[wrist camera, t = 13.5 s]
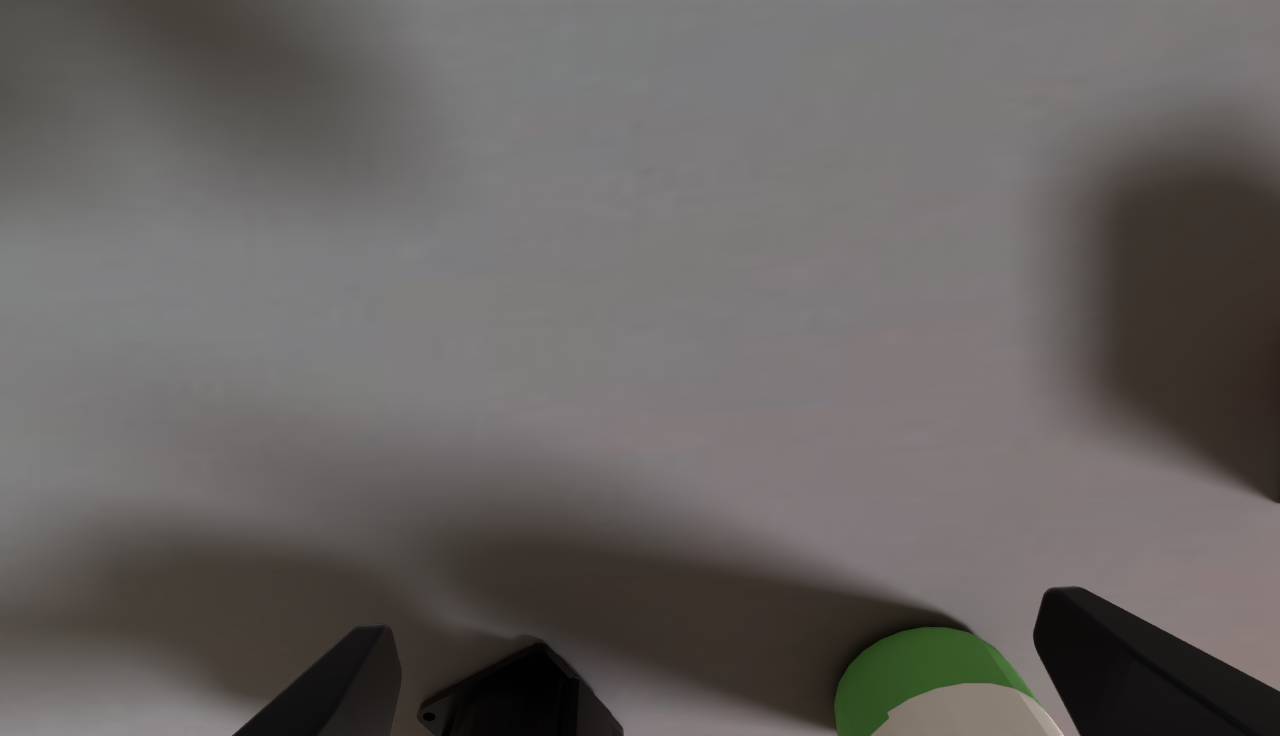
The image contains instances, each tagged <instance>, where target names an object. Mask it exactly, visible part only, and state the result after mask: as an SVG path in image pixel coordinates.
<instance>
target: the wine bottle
mask: <svg viewBox="0 0 1280 736" xmlns="http://www.w3.org/2000/svg"><path fill="white" fill-rule="evenodd" d="M834 711H835V719H836V726H837V732H838V736H1064V735H1063V734H1062V732H1061V731H1060V729H1059V728H1058V727H1057V725H1056V724H1055V722H1054V721H1053V720H1052V718H1051V717H1050V716H1049V715H1048V714H1047V713H1046V711H1045V710H1044V709H1043V707H1042V706H1041V705H1040V703H1039V702H1038V700H1037V699H1036V698H1035V696H1034V695H1033V693H1032V692H1031V691H1030V689H1029V688H1028V686H1027V685H1026V684H1025V682H1024V681H1023V680H1022V678H1021V677H1020V675H1019V674H1018V673H1017V671H1016V670H1015V669H1014V668H1013V667H1012V665H1011V664H1010V663H1009V662H1008V661H1007V660H1006V659H1005V658H1004V657H1003V656H1002V655H1001V653H1000V652H999V651H998V650H997V649H996V648H994V647H993V646H992V645H990V644H989V643H987V642H985V641H984V640H982V639H980V638H978V637H976V636H974V635H973V634H971V633H968V632H964V631H960V630H956V629H952V628H948V627H921V628H916V629H910V630H905V631H901V632H898V633H896V634H893V635H891V636H888V637H886V638H883V639H881V640H879V641H878V642H876V643H875V644H873V645H872V646H870V647H869V648H867V649H866V650H864V651H863V652H862V653H861V654H860V655H859V656H858V657H857V658H856V659H855V660H854V661H853V662H852V663H851V664H850V665H849V666H848V668H847V670H846V671H845V673H844V675H843V677H842V678H841V680H840V682H839V684H838V688H837V693H836V697H835V702H834Z"/></svg>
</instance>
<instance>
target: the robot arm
mask: <svg viewBox="0 0 1280 736" xmlns="http://www.w3.org/2000/svg"><path fill="white" fill-rule="evenodd" d="M1033 639H1034V645H1035V648H1036V650H1037V653H1038V655H1039V657H1040V659H1041V661H1042V663H1043V665H1044V666H1045V668H1046V670H1047V672H1048V674H1049V676H1050V678H1051V680H1052V682H1053V684H1054V686H1055V688H1056V690H1057V692H1058V694H1059V696H1060V698H1061V700H1062V701H1063V703H1064V705H1065V707H1066V709H1067V711H1068V713H1069V715H1070V717H1071V719H1072V721H1073V723H1074V725H1075V727H1076V729H1077V731H1078V733H1079V734H1080V736H1280V691H1278V690H1276V689H1274V688H1272V687H1270V686H1268V685H1267V684H1265V683H1263V682H1261V681H1259V680H1257V679H1255V678H1253V677H1251V676H1249V675H1247V674H1246V673H1244V672H1242V671H1240V670H1238V669H1236V668H1234V667H1232V666H1230V665H1228V664H1227V663H1225V662H1223V661H1221V660H1219V659H1217V658H1215V657H1213V656H1211V655H1209V654H1208V653H1206V652H1204V651H1202V650H1200V649H1198V648H1196V647H1194V646H1192V645H1190V644H1188V643H1187V642H1185V641H1183V640H1181V639H1179V638H1177V637H1175V636H1173V635H1171V634H1169V633H1168V632H1166V631H1164V630H1162V629H1160V628H1158V627H1156V626H1154V625H1152V624H1150V623H1149V622H1147V621H1145V620H1143V619H1141V618H1139V617H1137V616H1135V615H1133V614H1131V613H1129V612H1128V611H1126V610H1124V609H1122V608H1120V607H1118V606H1116V605H1114V604H1112V603H1110V602H1109V601H1107V600H1105V599H1103V598H1101V597H1099V596H1097V595H1095V594H1093V593H1091V592H1090V591H1088V590H1086V589H1084V588H1081V587H1075V586H1071V587H1053V588H1049V589H1048V590H1047V591H1046V592H1045V593H1044V595H1043V598H1042V601H1041V605H1040V609H1039V612H1038V616H1037V620H1036V623H1035V627H1034V631H1033ZM535 656H541V657H540V658H539V657H535ZM400 686H401V666H400V661H399V657H398V653H397V649H396V645H395V640H394V636H393V632H392V630H391V628H390V626H389V625H387V624H367V625H359V626H357V627H355V628H354V629H352V630H351V631H350V632H349V633H348V634H347V635H345V636H344V637H343V638H342V639H341V640H340V641H339V642H337V643H336V644H335V645H334V646H333V647H332V648H331V649H330V650H328V651H327V652H326V653H325V654H324V655H323V656H322V657H321V658H319V659H318V660H317V661H316V662H315V663H314V664H313V665H312V666H310V667H309V668H308V669H307V670H306V671H305V672H304V673H302V674H301V675H300V676H299V677H298V678H297V679H296V680H295V681H293V682H292V683H291V684H290V685H289V686H288V687H287V688H286V689H284V690H283V691H282V692H281V693H280V694H279V695H278V696H276V697H275V698H274V699H273V700H272V701H271V702H270V703H269V704H267V705H266V706H265V707H264V708H263V709H262V710H261V711H260V712H258V713H257V714H256V715H255V716H254V717H253V718H252V719H251V720H249V721H248V722H247V723H246V724H245V725H244V726H243V727H241V728H240V729H239V730H238V731H237V732H236V733H235V734H234V735H232V736H389V735H390V731H391V726H392V722H393V718H394V713H395V709H396V704H397V700H398V695H399V691H400ZM417 719H418V720H419V721H420V722H421V723H422V724H423V725H424V726H425V727H426V728H427V729H428V730H430V731H431V732H432V733H433V734H434V735H435V736H624V732H623V728H622V726H621V725H620V724H619V723H618V722H617V721H616V720H615V718H614V717H613V716H612V714H611V712H610V711H609V710H608V709H607V708H606V707H605V706H604V704H603V703H602V702H601V701H600V700H599V699H598V698H597V697H596V696H595V695H594V694H593V692H592V691H591V690H590V689H589V688H588V687H587V686H586V685H585V684H584V683H583V682H582V681H581V680H580V679H579V678H577V677H576V676H575V675H574V674H573V673H572V672H571V671H570V670H569V669H568V668H567V666H566V665H565V664H564V663H563V662H562V661H561V660H560V659H559V658H558V657H557V656H556V654H555V653H554V652H553V651H552V650H551V649H550V648H549V647H548V646H546V645H544V644H534V645H531V646H529V647H527V648H525V649H523V650H521V651H520V652H518V653H516V654H514V655H512V656H510V657H508V658H506V659H504V660H502V661H500V662H498V663H497V664H495V665H493V666H491V667H489V668H487V669H485V670H483V671H481V672H479V673H477V674H475V675H474V676H472V677H470V678H468V679H466V680H464V681H462V682H460V683H458V684H456V685H454V686H452V687H451V688H449V689H447V690H445V691H443V692H441V693H439V694H437V695H435V696H433V697H431V698H429V699H427V700H426V701H424V702H423V703H421V705H420V708H419V711H418V714H417Z"/></svg>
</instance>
